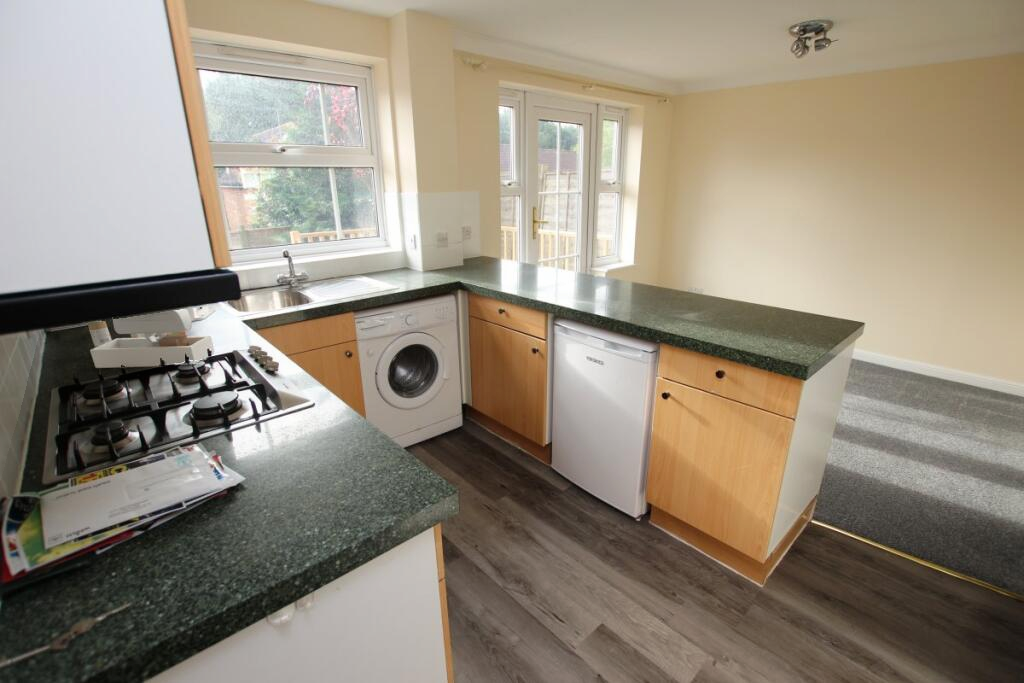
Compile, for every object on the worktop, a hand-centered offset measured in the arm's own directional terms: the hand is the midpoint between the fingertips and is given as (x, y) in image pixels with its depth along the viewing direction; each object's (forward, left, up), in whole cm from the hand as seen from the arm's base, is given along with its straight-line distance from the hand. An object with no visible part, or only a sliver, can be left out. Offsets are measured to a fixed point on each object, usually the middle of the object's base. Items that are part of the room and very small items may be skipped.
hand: (159, 346), depth 140 cm
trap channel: (0, -2, -4) cm, 5 cm away
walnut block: (0, +4, -1) cm, 5 cm away
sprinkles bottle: (-7, -22, -5) cm, 23 cm away
